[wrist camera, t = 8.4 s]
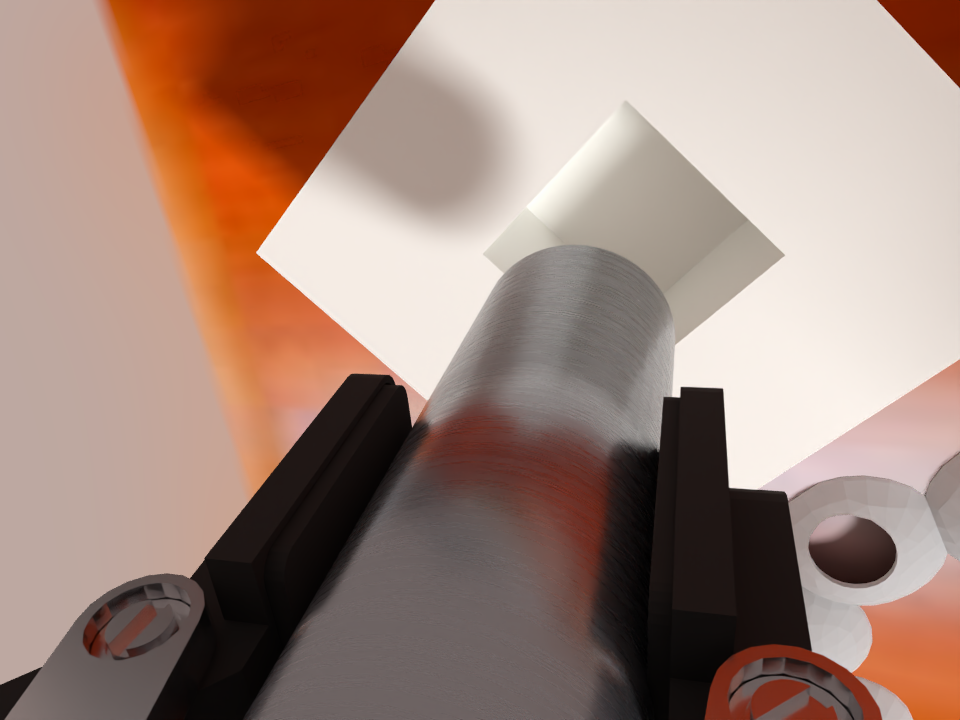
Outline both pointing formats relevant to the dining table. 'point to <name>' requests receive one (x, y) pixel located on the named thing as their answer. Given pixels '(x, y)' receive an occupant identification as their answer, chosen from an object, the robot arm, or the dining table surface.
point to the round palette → (919, 555)
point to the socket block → (659, 196)
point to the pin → (506, 521)
